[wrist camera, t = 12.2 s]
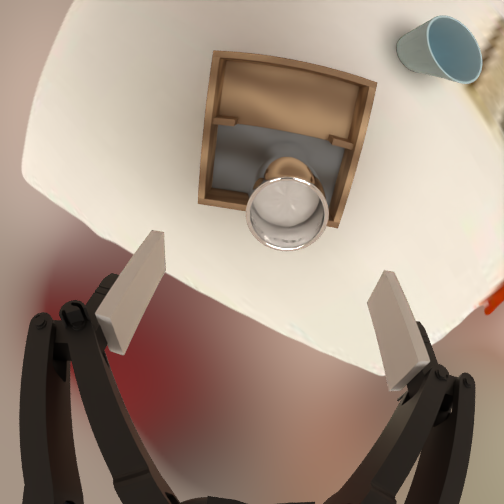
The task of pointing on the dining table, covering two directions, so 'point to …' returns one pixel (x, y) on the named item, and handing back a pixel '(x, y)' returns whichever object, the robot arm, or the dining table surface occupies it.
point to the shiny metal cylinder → (286, 200)
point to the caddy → (280, 124)
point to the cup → (442, 50)
